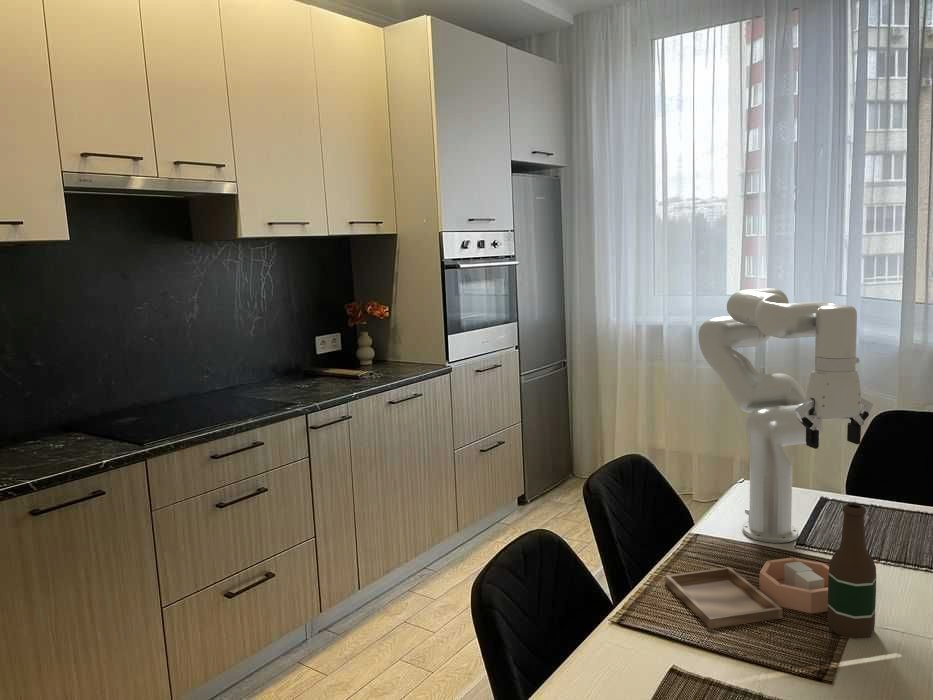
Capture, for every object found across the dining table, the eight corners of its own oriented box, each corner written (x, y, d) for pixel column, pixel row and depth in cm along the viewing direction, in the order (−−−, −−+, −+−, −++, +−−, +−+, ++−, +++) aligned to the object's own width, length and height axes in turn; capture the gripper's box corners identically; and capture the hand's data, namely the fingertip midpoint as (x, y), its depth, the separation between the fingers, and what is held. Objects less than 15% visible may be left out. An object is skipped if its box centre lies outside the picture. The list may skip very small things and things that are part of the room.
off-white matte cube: (784, 586, 148) (784, 563, 147) (799, 584, 149) (799, 561, 148) (797, 595, 144) (797, 572, 144) (812, 593, 145) (812, 569, 144)
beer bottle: (870, 623, 134) (874, 499, 131) (878, 645, 127) (883, 515, 124) (824, 617, 137) (827, 497, 134) (830, 639, 130) (833, 512, 126)
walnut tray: (665, 586, 152) (665, 575, 152) (729, 577, 155) (729, 566, 155) (710, 631, 134) (710, 619, 134) (782, 620, 137) (782, 608, 136)
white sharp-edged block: (794, 596, 144) (795, 572, 143) (810, 593, 145) (810, 570, 144) (808, 605, 140) (808, 581, 139) (823, 603, 141) (824, 579, 140)
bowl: (747, 584, 151) (747, 563, 151) (810, 576, 154) (810, 555, 153) (790, 619, 137) (790, 595, 136) (858, 609, 139) (859, 585, 139)
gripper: (859, 359, 154) (857, 436, 156) (786, 365, 151) (784, 444, 154) (885, 364, 147) (882, 445, 149) (809, 370, 144) (807, 453, 146)
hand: (833, 444), depth 151 cm, fingers open, 9 cm apart
